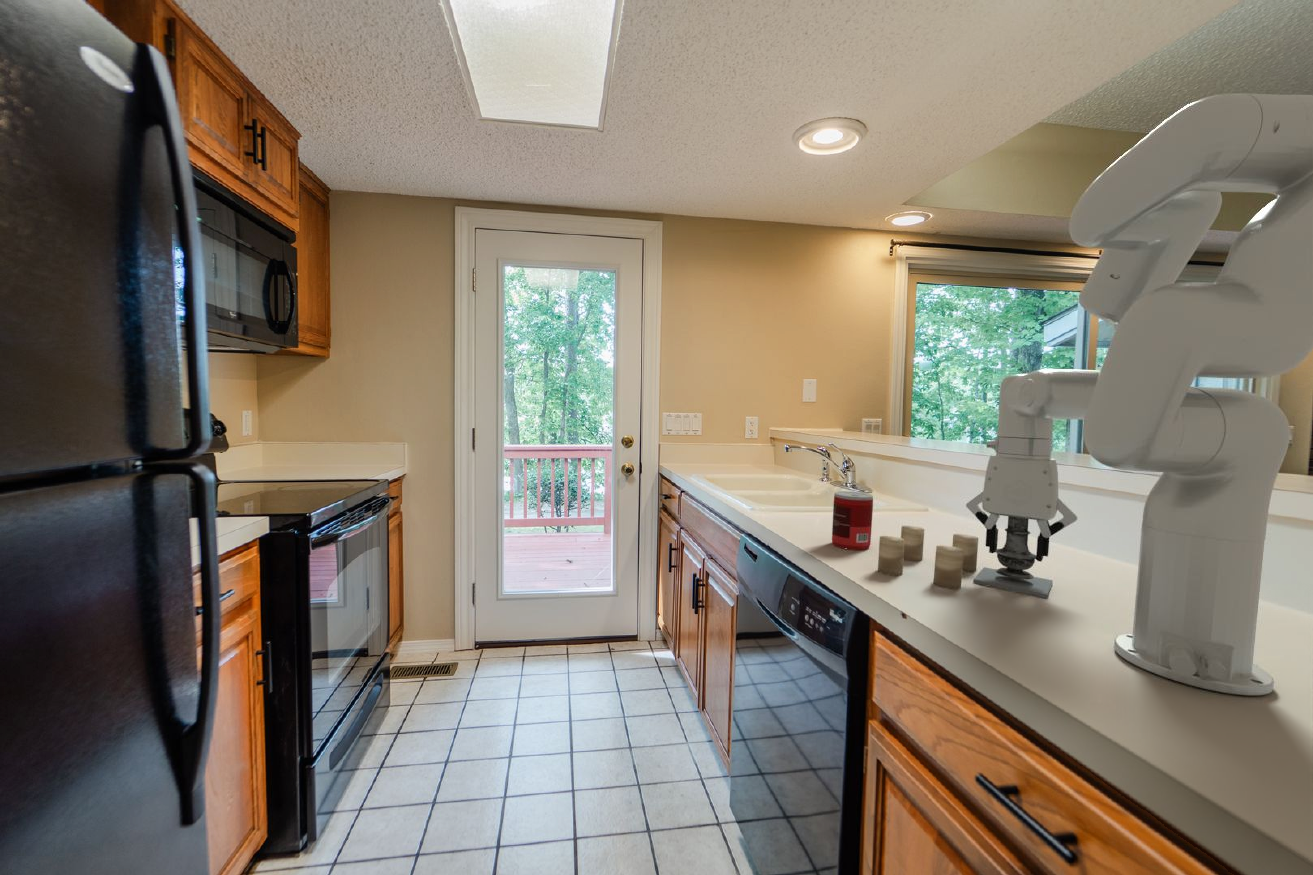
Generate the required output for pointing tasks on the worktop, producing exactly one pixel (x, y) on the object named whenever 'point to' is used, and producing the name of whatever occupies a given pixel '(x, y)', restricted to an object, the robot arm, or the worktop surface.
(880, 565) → the dowel front left
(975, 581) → the coaster
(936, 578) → the dowel front right
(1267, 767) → the worktop surface
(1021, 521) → the salt shaker
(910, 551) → the dowel back left
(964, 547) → the dowel back right
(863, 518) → the canned food
